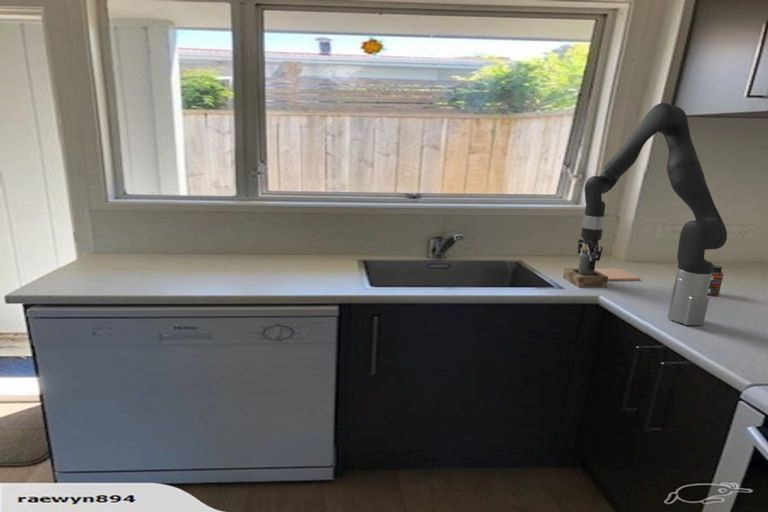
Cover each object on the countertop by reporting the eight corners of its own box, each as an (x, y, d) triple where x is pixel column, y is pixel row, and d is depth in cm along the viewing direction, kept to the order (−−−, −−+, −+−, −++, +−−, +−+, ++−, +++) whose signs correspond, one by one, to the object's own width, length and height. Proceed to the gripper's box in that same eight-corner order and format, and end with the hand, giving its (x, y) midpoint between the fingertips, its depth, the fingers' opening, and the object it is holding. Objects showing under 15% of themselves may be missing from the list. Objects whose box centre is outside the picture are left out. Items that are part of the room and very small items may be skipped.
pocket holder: (606, 286, 181) (608, 277, 180) (578, 287, 180) (579, 277, 179) (590, 277, 193) (591, 268, 191) (563, 277, 191) (564, 268, 190)
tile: (639, 280, 190) (640, 278, 190) (608, 280, 188) (608, 278, 188) (619, 270, 203) (619, 268, 203) (589, 270, 202) (590, 268, 201)
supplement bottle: (710, 297, 172) (716, 268, 169) (696, 291, 178) (702, 264, 175) (722, 296, 174) (729, 267, 171) (708, 290, 179) (714, 263, 176)
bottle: (576, 281, 184) (581, 245, 181) (577, 277, 190) (582, 242, 186) (592, 283, 182) (597, 247, 178) (593, 279, 187) (598, 244, 183)
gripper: (612, 230, 173) (605, 272, 178) (591, 223, 187) (585, 262, 192) (593, 230, 173) (587, 273, 177) (574, 223, 186) (569, 262, 191)
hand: (586, 267), depth 184 cm, fingers closed on bottle, 5 cm apart
